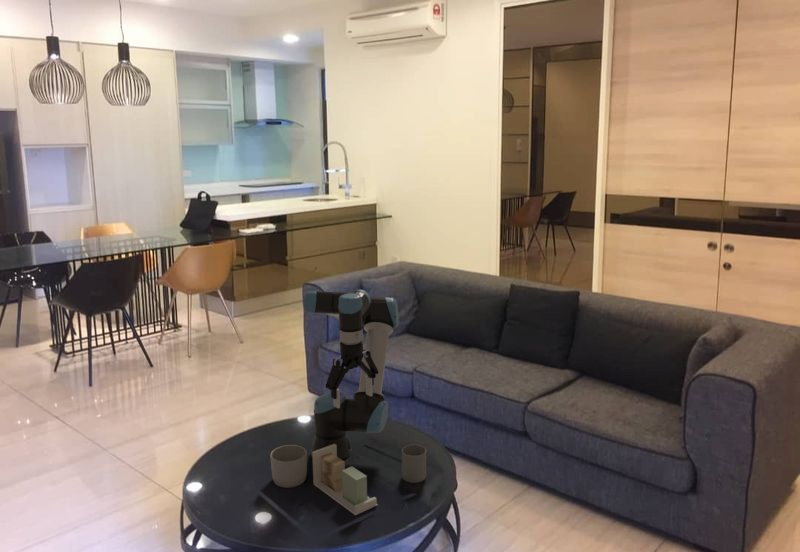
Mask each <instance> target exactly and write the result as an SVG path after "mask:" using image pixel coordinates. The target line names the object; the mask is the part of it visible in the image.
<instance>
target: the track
mask: <svg viewBox="0 0 800 552" xmlns="http://www.w3.org/2000/svg"><path fill="white" fill-rule="evenodd" d="M330 453H332V454H334V455H335V456H337V445H336V444H332V445H330V446H327V447H324V448H322V449H319V450H316V451H313V452H312V456H313V459H312V476H313V481H312V482H313V486H315V487H316V488H318V489H319V490H320V491H322V492H323V493H324V494H326V495H328V497H330V498H331V499H333V500H334V501H335V502H336V503H338V504H339V505H340V506H342V507H343V508H345V509H346V510H348V511H349V512H350V513H352V514H353V515H354V516H357V515H359V514H361V513H364V512H365V511H368V510H370V509H372V508H374V507H376V506H378V505H379V504H378V503H377V497H376V496H373V497H370V496H369V495H367V500H366V501H364V502H362V503H359V504H357V505H355V506H354V505H353V504H351V503H350V502H348V501H347V500H346V499H344V498H343V491H340V492H337V493H336V492H335V491H333V490H332V489H330V488H329V487H328V486H326V485H325V484H324V483H322V464H321V457H322V456H324V455H327V454H330Z"/></svg>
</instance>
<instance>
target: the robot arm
mask: <svg viewBox="0 0 800 552" xmlns="http://www.w3.org/2000/svg"><path fill="white" fill-rule="evenodd" d="M302 301H303V303H302V304H303V310H304V312H306V313H307V314H320V315H321V314H322V315H326V316H329V317H330V316H331V317H333V318H335V319H336V320H338V323H339V325H338V326H339V341H340V342H339V351H340V352H339V353H340V355H341V356H340V358H339V359H336V358H333V359H332V366H331V369H330V372H329V375H328V378H327V379H326V383H325V387H324V388H326V389H328V390H330V392H328V393H327V392H326V393H324V394H322V395H319V396H318V397H317V398H316V399H315V400H314V405H313V408H314V409H313V414H314V415H313V417H314V438H313V442H312V446H311V449H310V458H311V459H312V460H313V456H312V452H313V451H316V450H319V449H322V448H324V447H327V446H330V445H332V444H336V445H337V457H338V458H340V459H341V460H343V461H344V460H345V459H347V458H349V457H350V456H351V454H352V445H351V442H350V439H349V437H348V433H347V432H353V433H354V432H355V433H366V434H379V433H381V432H382V431H383V429H384V428H385V426H386V423H387V419H388V414H389V412H388V411H389V402H388V401H387V400H386V398H385V396H384V394H383V393H382V391H383V382H384V377H385V376H384V375H385V370H386V369H385V367H386V359H387V353H388V344H389V338H390V337H389V336H390V335H391V334H393V332H394V328H397V327H399V324H400V323H399V322H400V319H399V315H400V314H399V307H398V302H397V300H396V299H395V298H394V297H387V296H370V294H369V293H368V292H367V291H366V290H364V289H356V290H354V291H352V292H348V291H342V292H341V291H320V290H319V291H317V290H312V291H311V290H310V291H306V292H305V294H304V297H303V300H302ZM363 329H364V331H365V332H366V337H365V343H364V342H363V340H364V334H363ZM356 368H360V369H361V373H360V379H359V384H358V385H359V386H358V389H357V391H355V392H354V394H353V398H347V396H346V394H345V393H344V392H340V389H339V387H340V385H341V383H342V381H343V380H344V378H345V377H346V374H347V373H349V372H350V371H349V370H353V369H356Z"/></svg>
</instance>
